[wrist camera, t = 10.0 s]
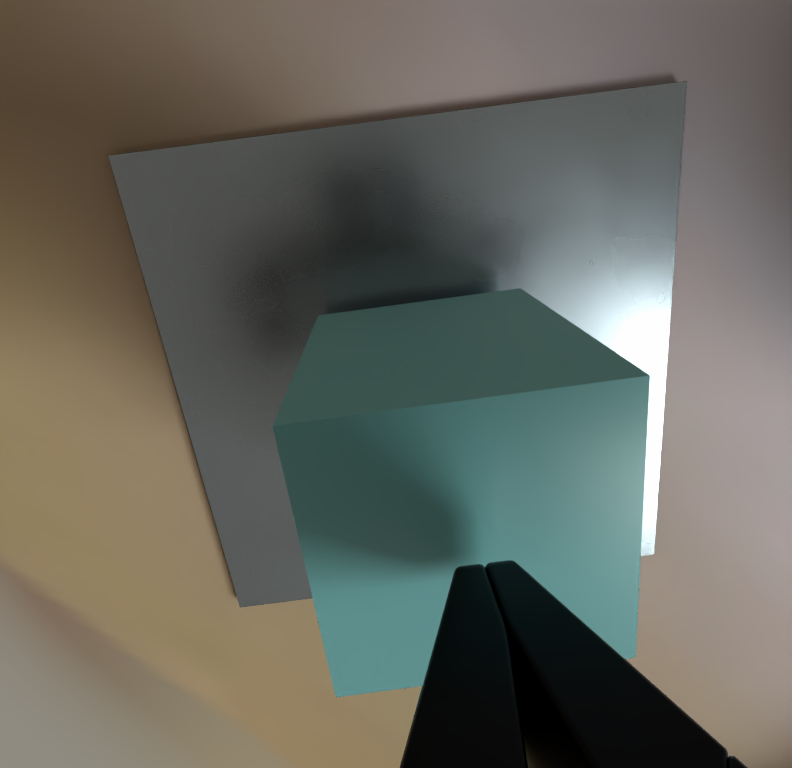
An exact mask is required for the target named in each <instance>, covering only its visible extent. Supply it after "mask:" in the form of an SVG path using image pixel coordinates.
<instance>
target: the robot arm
mask: <svg viewBox="0 0 792 768" xmlns="http://www.w3.org/2000/svg"><path fill="white" fill-rule="evenodd" d="M400 768H747V767H746V766H745V765H744V764H743V763H742V762H740V761H739V760H738V759H737V758H736V757H735V756H729V757H728V753H727V750H726V749H725V748H724V747H723V746H722V745H721V744H720V743H719V742H718V741H716V740H715V739H714V738H713V737H712V736H711V735H710V734H709V733H708V732H706V731H705V730H704V729H703V728H702V727H701V726H700V725H699V724H697V723H696V722H695V721H694V720H693V719H692V718H691V717H690V716H688V715H687V714H686V713H685V712H684V711H683V710H682V709H681V708H679V707H678V706H677V705H676V704H675V703H674V702H673V701H672V700H670V699H669V698H668V697H667V696H666V695H665V694H664V693H663V692H661V691H660V690H659V689H658V688H657V687H656V686H655V685H654V684H652V683H651V682H650V681H649V680H648V679H647V678H646V677H645V676H643V675H642V674H641V673H640V672H639V671H638V670H637V669H636V668H634V667H633V666H632V665H631V664H630V663H629V662H628V661H627V660H625V659H624V658H623V657H622V656H621V655H620V654H619V653H618V652H616V651H615V650H614V649H613V648H612V647H611V646H610V645H609V644H607V643H606V642H605V641H604V640H603V639H602V638H601V637H600V636H598V635H597V634H596V633H595V632H594V631H593V630H592V629H591V628H589V627H588V626H587V625H586V624H585V623H584V622H583V621H582V620H581V619H579V618H578V617H577V616H576V615H575V614H574V613H573V612H572V611H570V610H569V609H568V608H567V607H566V606H565V605H564V604H563V603H561V602H560V601H559V600H558V599H557V598H556V597H555V596H554V595H552V594H551V593H550V592H549V591H548V590H547V589H546V588H545V587H543V586H542V585H541V584H540V583H539V582H538V581H537V580H536V579H534V578H533V577H532V576H531V575H530V574H529V573H528V572H527V571H525V570H524V569H523V568H522V567H521V566H520V565H519V564H518V563H516V562H515V561H513V560H505V561H497V562H490V563H488V564H486V566H485V567H484V566H483V565H482V564H474V565H466V566H459V567H457V568H456V569H455V571H454V574H453V578H452V582H451V585H450V589H449V592H448V596H447V600H446V603H445V607H444V610H443V614H442V617H441V621H440V625H439V628H438V632H437V635H436V639H435V643H434V646H433V650H432V653H431V657H430V661H429V664H428V668H427V671H426V675H425V679H424V682H423V686H422V689H421V693H420V697H419V700H418V704H417V707H416V711H415V715H414V718H413V722H412V725H411V729H410V733H409V736H408V740H407V743H406V747H405V750H404V754H403V758H402V761H401V765H400Z"/></svg>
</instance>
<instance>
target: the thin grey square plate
mask: <svg viewBox="0 0 792 768" xmlns="http://www.w3.org/2000/svg"><path fill="white" fill-rule="evenodd" d="M686 84H687V81H683V82H675V83H667V84H659V85H652V86H644V87H636V88H628V89H621V90H613V91H605V92H597V93H590V94H582V95H574V96H567V97H559V98H551V99H543V100H536V101H528V102H520V103H512V104H505V105H497V106H489V107H481V108H474V109H466V110H458V111H450V112H443V113H435V114H427V115H420V116H412V117H404V118H396V119H389V120H381V121H373V122H365V123H358V124H350V125H342V126H334V127H327V128H319V129H311V130H303V131H296V132H288V133H280V134H273V135H265V136H257V137H249V138H242V139H234V140H226V141H218V142H211V143H203V144H195V145H187V146H180V147H172V148H164V149H156V150H149V151H141V152H133V153H126V154H118V155H110V156H108V157H109V160H110V164H111V167H112V171H113V174H114V177H115V181H116V184H117V188H118V191H119V195H120V198H121V201H122V205H123V208H124V212H125V215H126V219H127V222H128V225H129V229H130V232H131V236H132V239H133V243H134V246H135V249H136V253H137V256H138V260H139V263H140V266H141V270H142V273H143V277H144V280H145V284H146V287H147V290H148V294H149V297H150V301H151V304H152V308H153V311H154V314H155V318H156V321H157V325H158V328H159V332H160V335H161V338H162V342H163V345H164V349H165V352H166V356H167V359H168V362H169V366H170V369H171V373H172V376H173V380H174V383H175V386H176V390H177V393H178V397H179V400H180V404H181V407H182V410H183V414H184V417H185V421H186V424H187V428H188V431H189V434H190V438H191V441H192V445H193V448H194V451H195V455H196V458H197V462H198V465H199V469H200V472H201V475H202V479H203V482H204V486H205V489H206V493H207V496H208V499H209V503H210V506H211V510H212V513H213V517H214V520H215V523H216V527H217V530H218V534H219V537H220V541H221V544H222V547H223V551H224V554H225V558H226V561H227V565H228V568H229V571H230V575H231V578H232V582H233V585H234V589H235V592H236V595H237V599H238V602H239V606H240V607H247V606H255V605H263V604H271V603H278V602H286V601H294V600H302V599H309V598H313V597H312V593H311V589H310V585H309V580H308V576H307V572H306V567H305V563H304V559H303V555H302V550H301V546H300V542H299V538H298V533H297V529H296V525H295V520H294V516H293V512H292V508H291V503H290V499H289V495H288V490H287V486H286V482H285V478H284V473H283V469H282V465H281V461H280V456H279V452H278V448H277V443H276V439H275V435H274V431H273V424H274V421H275V419H276V416H277V414H278V412H279V409H280V407H281V404H282V402H283V399H284V397H285V395H286V392H287V390H288V387H289V385H290V383H291V380H292V378H293V375H294V373H295V370H296V368H297V366H298V363H299V361H300V358H301V356H302V354H303V351H304V349H305V346H306V344H307V341H308V339H309V337H310V334H311V332H312V329H313V327H314V325H315V322H316V320H317V317H318V315H325V314H333V313H340V312H347V311H355V310H362V309H370V308H377V307H385V306H392V305H399V304H407V303H414V302H422V301H429V300H436V299H444V298H451V297H459V296H466V295H474V294H481V293H488V292H496V291H503V290H511V289H518V288H521V289H522V290H524V291H525V292H527V293H528V294H530V295H531V296H533V297H534V298H536V299H537V300H539V301H540V302H542V303H543V304H545V305H546V306H548V307H549V308H551V309H552V310H554V311H555V312H556V313H558V314H559V315H561V316H562V317H564V318H565V319H567V320H568V321H570V322H571V323H573V324H574V325H576V326H577V327H579V328H580V329H582V330H583V331H585V332H586V333H588V334H589V335H591V336H592V337H594V338H595V339H597V340H598V341H600V342H601V343H603V344H604V345H605V346H607V347H608V348H610V349H611V350H613V351H614V352H616V353H617V354H619V355H620V356H622V357H623V358H625V359H626V360H628V361H629V362H631V363H632V364H634V365H635V366H637V367H638V368H640V369H641V370H643V371H644V372H646V373H647V374H649V375H650V385H649V404H648V424H647V443H646V463H645V482H644V502H643V521H642V541H641V556H644V555H652V554H654V546H655V531H656V517H657V503H658V488H659V474H660V459H661V445H662V430H663V416H664V402H665V387H666V373H667V358H668V344H669V330H670V315H671V301H672V286H673V272H674V257H675V243H676V229H677V214H678V200H679V185H680V171H681V156H682V142H683V128H684V113H685V99H686Z"/></svg>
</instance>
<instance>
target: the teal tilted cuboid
mask: <svg viewBox="0 0 792 768" xmlns="http://www.w3.org/2000/svg"><path fill="white" fill-rule="evenodd" d="M649 385H650V375H649V374H647V373H646V372H644V371H643V370H641V369H640V368H638V367H637V366H635V365H634V364H632V363H631V362H629V361H628V360H626V359H625V358H623V357H622V356H620V355H619V354H617V353H616V352H614V351H613V350H611V349H610V348H608V347H607V346H605V345H604V344H603V343H601V342H600V341H598V340H597V339H595V338H594V337H592V336H591V335H589V334H588V333H586V332H585V331H583V330H582V329H580V328H579V327H577V326H576V325H574V324H573V323H571V322H570V321H568V320H567V319H565V318H564V317H562V316H561V315H559V314H558V313H556V312H555V311H554V310H552V309H551V308H549V307H548V306H546V305H545V304H543V303H542V302H540V301H539V300H537V299H536V298H534V297H533V296H531V295H530V294H528V293H527V292H525V291H524V290H522V289H521V288H518V289H511V290H503V291H496V292H488V293H481V294H474V295H466V296H459V297H451V298H444V299H436V300H429V301H422V302H414V303H407V304H399V305H392V306H385V307H377V308H370V309H362V310H355V311H347V312H340V313H333V314H325V315H318V317H317V320H316V322H315V325H314V327H313V329H312V332H311V334H310V337H309V339H308V341H307V344H306V346H305V349H304V351H303V354H302V356H301V358H300V361H299V363H298V366H297V368H296V370H295V373H294V375H293V378H292V380H291V383H290V385H289V387H288V390H287V392H286V395H285V397H284V399H283V402H282V404H281V407H280V409H279V412H278V414H277V416H276V419H275V421H274V424H273V431H274V435H275V439H276V443H277V448H278V452H279V456H280V461H281V465H282V469H283V473H284V478H285V482H286V486H287V490H288V495H289V499H290V503H291V508H292V512H293V516H294V520H295V525H296V529H297V533H298V538H299V542H300V546H301V550H302V555H303V559H304V563H305V567H306V572H307V576H308V580H309V585H310V589H311V593H312V597H313V602H314V606H315V610H316V615H317V619H318V623H319V627H320V632H321V636H322V640H323V644H324V649H325V653H326V657H327V662H328V666H329V670H330V674H331V679H332V683H333V687H334V692H335V696H336V697H341V696H349V695H356V694H364V693H371V692H379V691H386V690H394V689H401V688H409V687H416V686H423V682H424V679H425V675H426V671H427V668H428V664H429V661H430V657H431V653H432V650H433V646H434V643H435V639H436V635H437V632H438V628H439V625H440V621H441V617H442V614H443V610H444V607H445V603H446V600H447V596H448V592H449V589H450V585H451V582H452V578H453V574H454V571H455V569H456V568H457V567H459V566H466V565H474V564H482V565H483V566H484V567H485V566H486V564H488V563H490V562H497V561H505V560H513V561H515V562H516V563H518V564H519V565H520V566H521V567H522V568H523V569H524V570H525V571H527V572H528V573H529V574H530V575H531V576H532V577H533V578H534V579H536V580H537V581H538V582H539V583H540V584H541V585H542V586H543V587H545V588H546V589H547V590H548V591H549V592H550V593H551V594H552V595H554V596H555V597H556V598H557V599H558V600H559V601H560V602H561V603H563V604H564V605H565V606H566V607H567V608H568V609H569V610H570V611H572V612H573V613H574V614H575V615H576V616H577V617H578V618H579V619H581V620H582V621H583V622H584V623H585V624H586V625H587V626H588V627H589V628H591V629H592V630H593V631H594V632H595V633H596V634H597V635H598V636H600V637H601V638H602V639H603V640H604V641H605V642H606V643H607V644H609V645H610V646H611V647H612V648H613V649H614V650H615V651H616V652H618V653H619V654H620V655H621V656H622V657H623V658H624V659H628V658H635V657H636V639H637V619H638V600H639V580H640V560H641V541H642V521H643V502H644V482H645V463H646V443H647V424H648V404H649Z"/></svg>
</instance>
